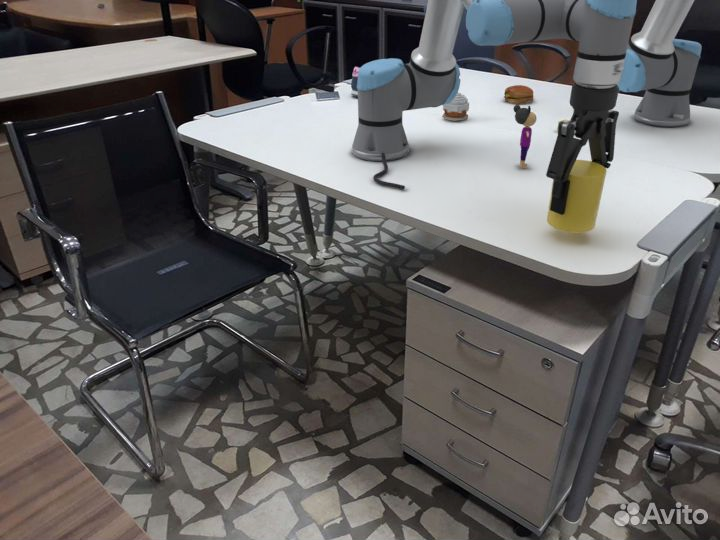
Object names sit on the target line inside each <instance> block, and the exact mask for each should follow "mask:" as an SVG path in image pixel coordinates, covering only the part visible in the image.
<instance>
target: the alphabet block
mask: <svg viewBox="0 0 720 540" xmlns="http://www.w3.org/2000/svg"><path fill="white" fill-rule="evenodd" d="M561 121H563V122H568V121H570V120H568V119H561V120H559V121H558V122H557V126H558V125H559V123H560V122H561ZM557 132H558V128H557Z"/></svg>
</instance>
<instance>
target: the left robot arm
mask: <svg viewBox="0 0 720 540" xmlns="http://www.w3.org/2000/svg"><path fill="white" fill-rule="evenodd" d="M637 2H638V0H427V5H426V11H425V16H424V20H423V25H422V30H421V34H420V40H419V45H418V47H416V48H415V49H413V50H412V52H411V54H410V60H409V63H404V62H403V60H402V59H400V58H393V57H390V58H381V59H375V60H372V61H369V62H366V63H364V64H362V66H360V67H359V68H360V69H359V71H358V81H357V89H358V97H357V111H358V113H357V115H358V118H357V119H358V125H357V128H356V131H355V135H354V138H353V141H352V144H351V147H352V155H353V156H354V157H356V158H358V159H360V160H364V161H371V162H382V164H383V169H382V170H381V171H379V172H377V173H376V174H374V175H373V178H372V179H373V181H374V182H375V183H377V184H379V185H380V186H385V187H389V188H394V189H399V190H405V189H406V185H404V184H400V183H396V182H395V183H394V182H389V181H384V180H381V179H379V177H381V176H383V175H385V174H387V172H388V169H389V165H388V163H387V162H389V161H394V160H398V159H399V160H400V159H401V158H404V157H406V156H407V155H409V151H410V150H409V149H410V145H409V141H408V137H407V134H406V132H405V128H404V125H403V124H404V123H403V112H406V111H414V110H421V109H427V108H438V107H441V106H443V105H446V104H448V103H450V102H451V101H452V100H453V99H454V98H455V97H456V95H457V93H459V91H460V86H461V78H460V76H461V70H460V67H459V65H458V63H457V59H456V57H455V56H454V54H453V52H454V48H455V44H456V41H457V36H458V33H459V29H460V25H461V21H462V18H463V17H462V16H463V13H464V9H465V10H466V15H465V29H466V30H467V31H468V32H467V35H468V38H469V39H470V41H471V42H472V43H473V44H475V45H476V46H481V47H483V46H484V47H485V46H487V47H488V46H491V47H499V46H504V45H511V44H512V45H513V44H520V43H528V42H538V41H539V42H540V41H550V40H558V39H559V40H569V41H574V42H577V43H578V49H577V53H576V60H575V65H574V71H573V76H572V79H573V81H574V83H573V84H572V85H571V90H570V97H569V105H570V107H572V109H573V113H572V115H571V116H570V117H571V118H570V120H569V121H568V122H563V121H562V120H560V121H561V122H560V123H559V125H558V124H557V129H558V131H557V137H556V139H555V143H554V146H553V149H552V153H551V156H550V159H549V160H550V161H549V163H548V167H547V170H546V173H545V176H546V177H547V178H549V179H551V180H553V179H554V183H553V182H552V184H553V189H552V188H551V190H552V200H551V206H550V210H551V211H553V212H556V213H558V214H561V215H563V214H564V213H565V207H566V202H567V196H568V190H569V185H570V181H569V180H567V179H568V176H569V174H570V172H571V170H572V168H573V166H574V163H575V161H576V160H578V159H577V158H578V157H579V154H580V152H581V150H582V148H583V147H584V146H586V145H587V143H588V147H589V152H590V153H589V154H590V161H591V162H595V163H598V164H600V165H602V166H604V167H605V168H606V170H607V169H609V168H610V167H611V163H612V162H613V161H614V156H615V145H616V132H617V131H616V129H617V122H618V119H619V115H620V111H618V110H614V109H615V107H616V105H617V100H618V96H619V91H620V90H619V87H618V85H616V84H618V83H619V82H620V81H621V75H622V72H623V70H624V68H623V65H624V60H625V57H626V51H627V46H628V44H629V42H630V38H631V37H630V36H631V33H632V28H633V24H634V20H635V16H636V14H637Z"/></svg>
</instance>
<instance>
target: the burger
mask: <svg viewBox="0 0 720 540" xmlns="http://www.w3.org/2000/svg"><path fill="white" fill-rule="evenodd" d="M503 98H504V100H505V101H507V103H509V104H514V105H515V104H516V105H521V104H525V103H531V102H534V90H533V89H532V88H531V87H530V86H527V85H523V84H520V85H519V84H517V85H511V86H510V85H509V86H508V87H506V88H505V89H504V96H503Z"/></svg>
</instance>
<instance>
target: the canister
mask: <svg viewBox="0 0 720 540" xmlns="http://www.w3.org/2000/svg"><path fill="white" fill-rule="evenodd" d="M607 172H608V171H607V168H605V167H604V166H602V165H600V164H598V163H595V162H592V160H586V159H576V161H575V163H574V166H573V168H572V170H571V172H570V174H569V176H568V179H567V180H569V181H570V185H569V190H568V196H567V202H566V207H565V213H564V214H563V215H561V214H558V213H556V212H553V211H551V210H550V206H551V200H552V189H553V183H554V179H552V185H551V189H550V197H549V198H550V199H549V203H548V210H547V215H546V222H547V224H548V226H551V227H552V228H554V229H556V230H559V231H562V232H566V233H579V234H580V233H588V232H590V231H592V230H593V229H595V227H596V223H597V220H598V219H597V218H598V214H599V213H598V212H599V210H600V205H601V200H602V195H603V191H604V187H605V181H606V176H607Z"/></svg>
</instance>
